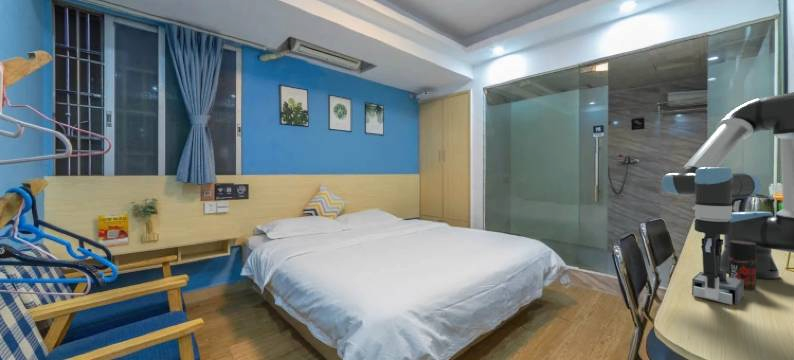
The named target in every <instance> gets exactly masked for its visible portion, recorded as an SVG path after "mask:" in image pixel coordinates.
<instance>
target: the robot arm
mask: <svg viewBox="0 0 794 360" xmlns="http://www.w3.org/2000/svg"><path fill="white" fill-rule="evenodd" d="M761 131H772V135H773V136H774V137H776V138H778V139H779V140H780V160H781V161H780V163H781V190H782V191H781V192H782V195H781V196H782V209H781V210H779V211H777V212H776V213H775V216H774V214H773V213H772V211H736V212H735V211H733V203H732V200H733V199H745V198H749V197H750V198H751V197H754V196H755V195H757V194H759V193H760V191H761V189H762V187H763V186H762V184H763V183H762V180H760V178H759V177H758V176H757V175H754V174H753V173H746V172H736V173H735V172H734V173H733V169H731V168H730V167H729V166H728V167H727V166H723V167H720V166H721V164H723V162H724V161H725V160H726V159H727V158H728V157H729V155H730V154H731V153H732V152H733V151H734V150H735V148H736V147H737V146H738V145H739V144H740V143H741V142H742V141H743V140H745V139H748V138H749V137H751V136H752V135H753V134H754V133H757V132H761ZM661 187H662V189H663V191H664V192H665V193H666V194H671V195H678V196H694V206H692V207H691V209H692V210H693V211H694V217H695V219H694V231H695V232H698V233H703V234H704V237H703V238H701V246H700V247H701V252H702V269H703V270H702V272H703V273H702V274H701V275H702V276H705V297H706V298H711V299H715V300H718V299H719V277H723V275H722V274H719V273H720V272H721V270H720V269H722V270H725V271H727V272H726V273H728V274H729V241H731V240H736V241H746V242H752V243H756V279H767V280H771V279H772V280H773V279H774V280H775V279H778V278H779V277H780V276H779V275H780V272H779V268H778V266H777V264H776V262H775V261H774V258H773V255H772V250H776V251H782V252H788V253H794V92H789V93H788V92H787V93H783V94H777V95H772V96H763V97H759V98H756V99H751V100H750V101H747V102H745V103H743V104H742V105H740V106H738V107H736V108H734V109H733V110H731V111H730V112H728V113H727V114H726V115H725V116H724V117H722V118H721V119H720V121H718V123H717V124H716V126H715V131H714V132H713V133H712V134H711V136H709V138H708V139H706V141H705V142H704V144H702V145H701V146H700V147H699V149H698V150H696V152H695V153H694V154H693V155H692V156H691V157H690V159H688V161H687V163H685V165H683V167H682V168H681V169H679V171H678V172H672V173H670V172H669V173H667V174H665V175H664V176H662V179H661ZM723 235H724V236H723ZM721 236H723V237H724V238H721ZM723 245H724V247H723ZM718 276H719V277H718ZM706 298H705V299H706Z"/></svg>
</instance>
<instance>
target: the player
mask: <svg viewBox="0 0 794 360" xmlns="http://www.w3.org/2000/svg"><path fill="white" fill-rule="evenodd" d="M720 270H721V272H720V273H719V274H722V275H723V277H719V276H718V277H719V287H721V288H726V289H731V290H732V291H733V294H734V304H735V305H739V303H740V301H741V300H742V299H743V297H744V295H745V293H744V292H745V290H744V280H741V279H736V278H731V277H729V276H727V273H728V272H727V271H725V270H722V269H720ZM702 273H703V271H699V273H697V274H696V275H694V277H693V278H692V279H691V294H692V295H693V287H694V286H696V287H701V288H702V283H703V284H705V276H702V275H701V274H702Z"/></svg>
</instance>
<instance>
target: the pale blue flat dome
mask: <svg viewBox="0 0 794 360" xmlns="http://www.w3.org/2000/svg"><path fill="white" fill-rule="evenodd" d="M701 288H705V284H703V283H702V287H701ZM719 292H723V293H728V294H730V289H726V288H721V287H719Z"/></svg>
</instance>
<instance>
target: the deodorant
mask: <svg viewBox="0 0 794 360" xmlns="http://www.w3.org/2000/svg"><path fill="white" fill-rule="evenodd" d="M728 277H731V278H736V279H741V280H744V291H752V292H753V291H756V289H757V288H756V287H757V285H756V284H757V283H756V282H757V278H756V243H752V242H746V241H736V240H731V241H729V273H728Z"/></svg>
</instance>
